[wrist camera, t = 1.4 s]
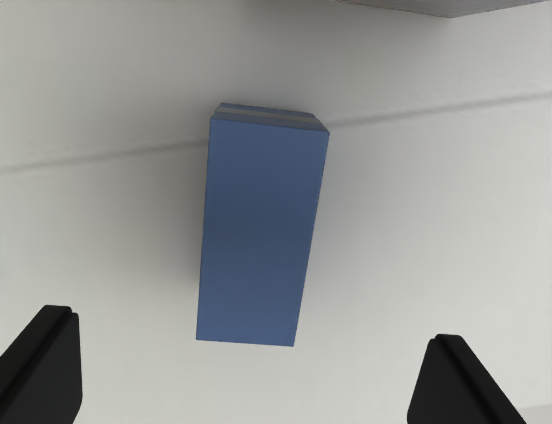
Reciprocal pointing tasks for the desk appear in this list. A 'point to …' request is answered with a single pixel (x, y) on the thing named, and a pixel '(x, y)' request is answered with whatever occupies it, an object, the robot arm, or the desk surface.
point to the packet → (258, 222)
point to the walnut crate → (443, 5)
